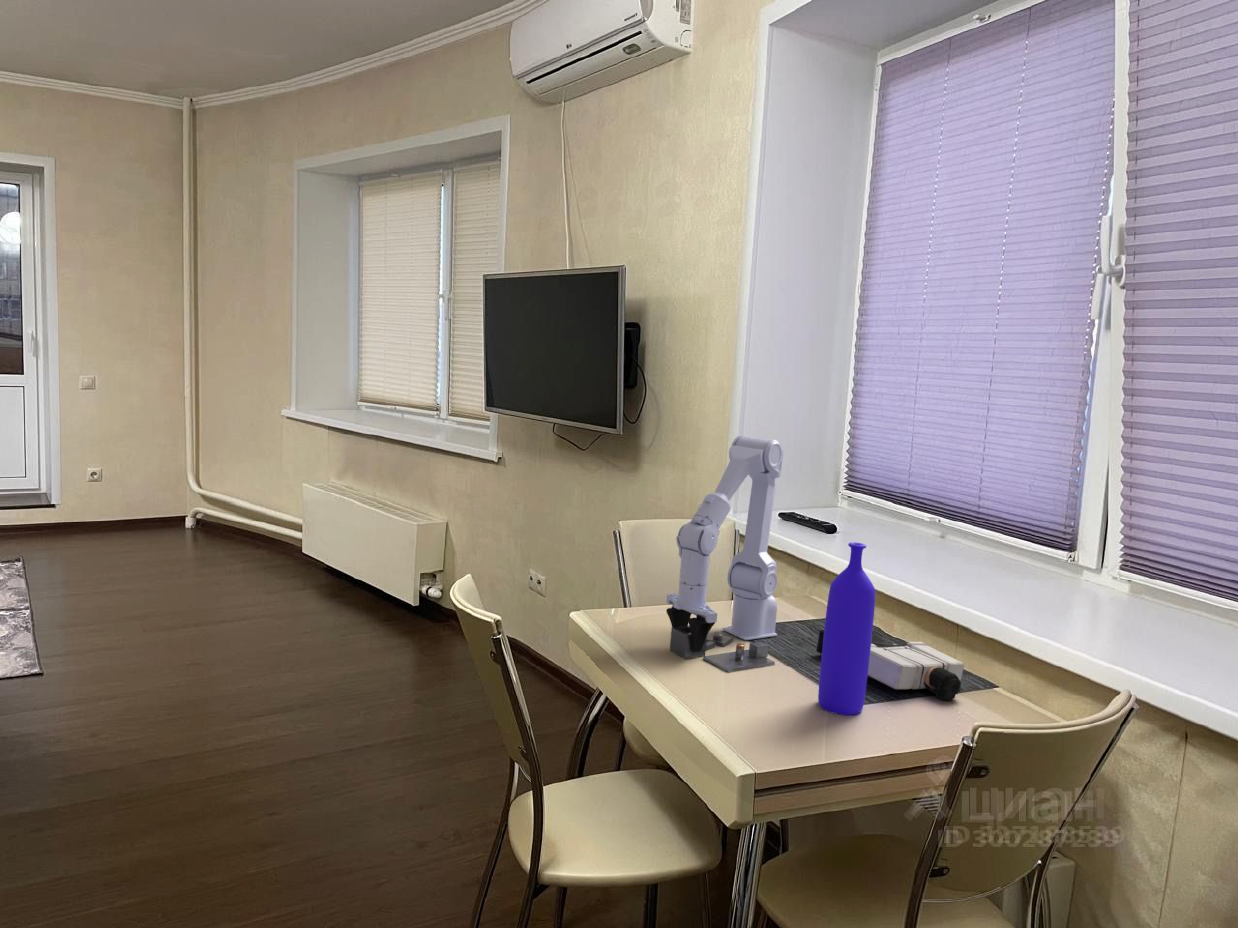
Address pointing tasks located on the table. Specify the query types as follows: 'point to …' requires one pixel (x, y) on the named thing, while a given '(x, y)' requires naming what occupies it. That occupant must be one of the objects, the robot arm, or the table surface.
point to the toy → (912, 667)
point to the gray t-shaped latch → (717, 640)
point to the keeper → (742, 658)
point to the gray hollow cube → (684, 643)
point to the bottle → (847, 638)
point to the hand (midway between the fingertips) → (687, 646)
